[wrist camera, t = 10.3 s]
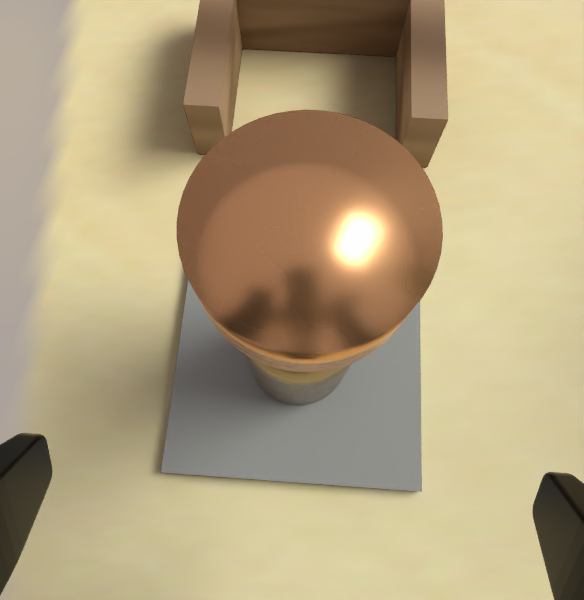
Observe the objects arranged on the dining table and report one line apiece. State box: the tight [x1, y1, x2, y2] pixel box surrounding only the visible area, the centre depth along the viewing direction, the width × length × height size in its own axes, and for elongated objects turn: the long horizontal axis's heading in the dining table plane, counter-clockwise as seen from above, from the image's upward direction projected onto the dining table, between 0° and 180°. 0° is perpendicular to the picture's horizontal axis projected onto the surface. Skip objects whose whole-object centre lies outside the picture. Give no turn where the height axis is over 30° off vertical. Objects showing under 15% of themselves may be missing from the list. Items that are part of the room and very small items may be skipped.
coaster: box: [161, 280, 422, 492], centre depth 22 cm, size 10×10×1 cm
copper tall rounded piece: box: [177, 110, 443, 405], centre depth 15 cm, size 5×5×12 cm
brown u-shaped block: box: [183, 0, 448, 167], centre depth 24 cm, size 8×11×4 cm
